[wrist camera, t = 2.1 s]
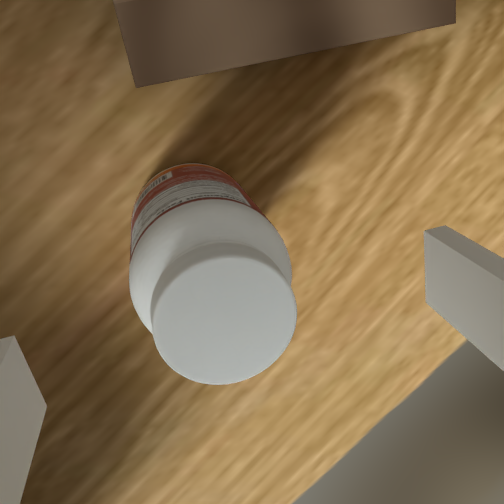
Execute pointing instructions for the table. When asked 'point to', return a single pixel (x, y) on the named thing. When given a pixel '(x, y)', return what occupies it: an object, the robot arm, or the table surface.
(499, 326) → the robot arm
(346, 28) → the bore block
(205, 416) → the table surface
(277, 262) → the pill bottle
